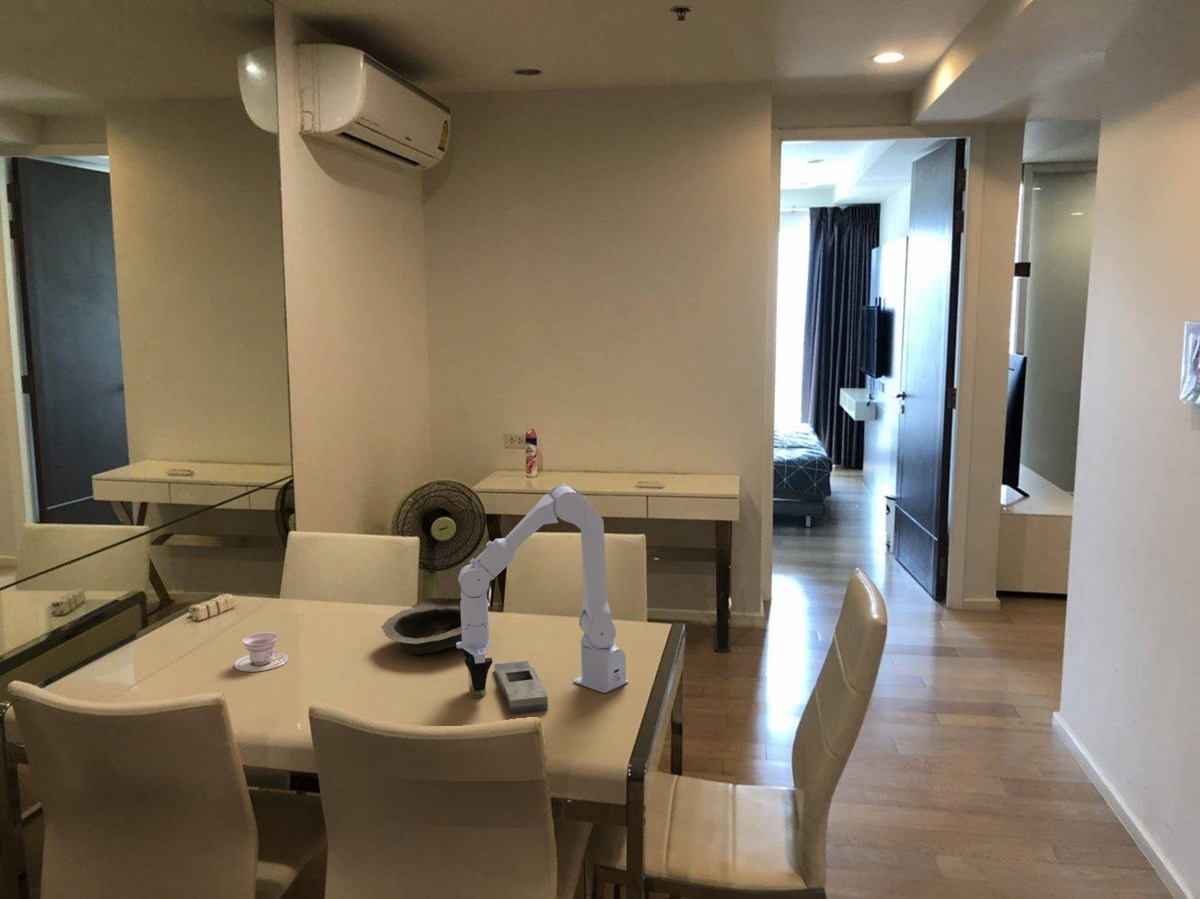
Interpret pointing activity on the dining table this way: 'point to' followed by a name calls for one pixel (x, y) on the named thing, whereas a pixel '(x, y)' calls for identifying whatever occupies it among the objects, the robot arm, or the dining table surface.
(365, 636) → the dining table surface
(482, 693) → the pin
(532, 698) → the gray slotted block
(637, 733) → the dining table surface
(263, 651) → the teacup
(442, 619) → the stone bowl
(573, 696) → the dining table surface
